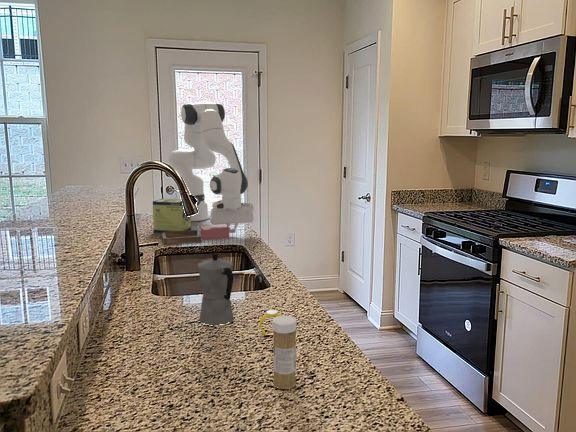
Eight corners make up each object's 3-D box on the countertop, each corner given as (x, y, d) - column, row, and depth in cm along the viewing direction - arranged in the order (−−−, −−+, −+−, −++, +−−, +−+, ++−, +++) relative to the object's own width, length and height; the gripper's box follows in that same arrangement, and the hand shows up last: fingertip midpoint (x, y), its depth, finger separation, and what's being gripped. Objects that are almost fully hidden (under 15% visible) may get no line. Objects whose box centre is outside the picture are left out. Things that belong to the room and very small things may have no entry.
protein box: (183, 234, 228) (181, 202, 225) (153, 232, 231) (151, 201, 228) (191, 229, 238) (190, 199, 235) (163, 228, 241) (161, 198, 238)
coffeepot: (189, 316, 126) (187, 250, 123) (221, 308, 131) (219, 245, 128) (215, 336, 113) (213, 263, 110) (249, 327, 119) (248, 257, 116)
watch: (261, 339, 113) (259, 315, 111) (260, 334, 115) (258, 311, 114) (286, 335, 114) (284, 312, 112) (284, 331, 116) (282, 308, 115)
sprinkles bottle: (278, 377, 94) (278, 313, 92) (299, 381, 93) (300, 316, 90) (269, 388, 90) (268, 321, 88) (291, 393, 89) (291, 325, 86)
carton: (200, 236, 223) (200, 226, 222) (225, 235, 227) (225, 224, 226) (203, 240, 215) (202, 229, 214) (229, 238, 218) (229, 228, 218)
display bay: (162, 237, 221) (162, 231, 220) (197, 234, 226) (197, 229, 225) (164, 244, 206) (163, 238, 206) (201, 241, 211) (201, 236, 211)
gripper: (251, 201, 226) (252, 230, 229) (208, 203, 220) (209, 232, 223) (255, 203, 221) (255, 232, 223) (211, 205, 214) (211, 235, 217)
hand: (232, 232), depth 223 cm, fingers closed
